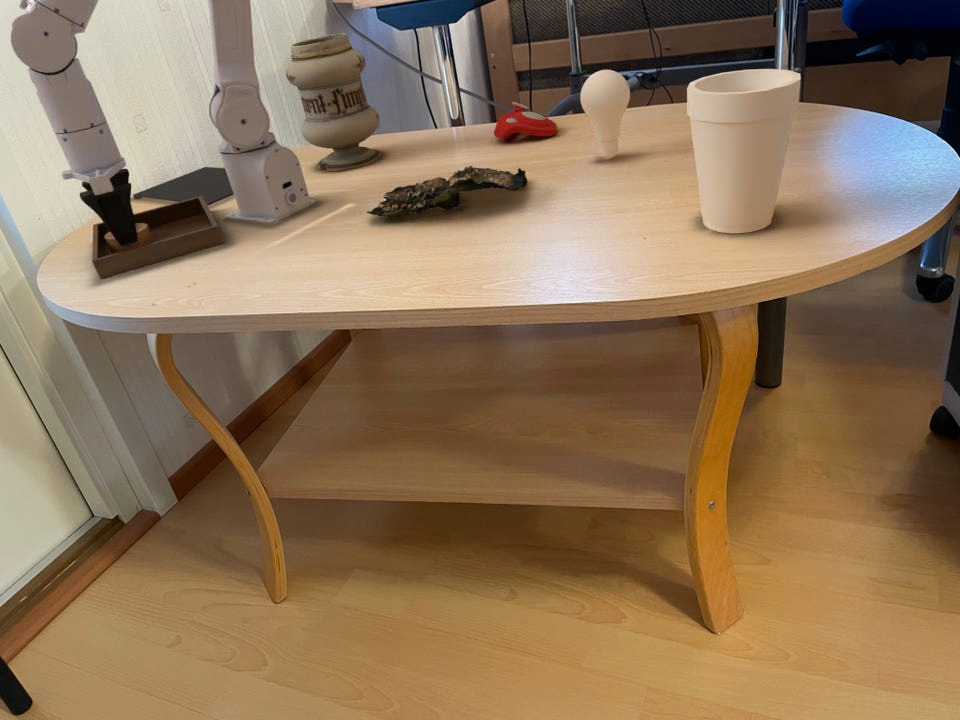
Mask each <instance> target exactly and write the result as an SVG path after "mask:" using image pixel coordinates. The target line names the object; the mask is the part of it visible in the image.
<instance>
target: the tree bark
mask: <svg viewBox="0 0 960 720" xmlns="http://www.w3.org/2000/svg"><path fill="white" fill-rule="evenodd" d="M528 183H529V182H528V178H527V175H526V170H523V169H522V168H520V167H519V168H518V169H517V172H516V173H515V174H514V173H512V172H511V171H508V170H505V171H504V170H498V169H493V168H489V167H487V168H484V167H476V166H474V167H473V165H469V166H465V167H464V168H463V170H459V169H457V171H455V172H453V174H452V175H451V176H450V177H448V179H446V178H445V177H440V176H439V177H435V178H432V179H428V180H427V179H426V180H424V181H422V182H416V183H415V184H410V185H409V184H408V185H405V186H398V187H395V188H394V189H393V190H391V191H387V192H386V193H385V194H384V196H383V199H385V200H383V201H381V202H379V204H378V205H377V206H376V207H374V208H372V210H370V211H369V210H368V211H366V214H369V215H372V216H377V217H382V218H389V219H391V218H392V219H393V218H399V217H403V216H410V215H411V214H412V213H413V214H422V211H425V212H426V211H429V210H435V209H437V208H438V209H441V210H444V211H452V210H453V209H456V208H459V206H460V205H461V202H460V199H461V194H460V193H463V192H475V191H479V190H485V189H486V190H487V189H499V190H505V191H513V192H515V191H518V190H520V188H521V187H522V188H524V187H525V188H526V186H527V185H528Z"/></svg>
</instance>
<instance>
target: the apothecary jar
mask: <svg viewBox="0 0 960 720" xmlns="http://www.w3.org/2000/svg"><path fill="white" fill-rule="evenodd" d="M290 52H291V55H290V58H291V60H290V61H289V63H288V64H287V65H286V69H285V76H286V79H287V81H288V82H289V83H290V85H292V86H295V87H296V88H297V90H298V93H299V97H300V100H301V104H302V106H303V112H304V116H305V119H304V120H303V122H302V124H301V134H302V137H303V139H305V141H306V142H308V143H309V144H310V145H312V146H314V147H318V148H321V149H322V148H323V149H331V150H332V151H333V152H331V153H329V154H327V155H326V156H325V157H323V158H322V159H320V160H319V162H318V163H317V165H318V166H317V167H318V169H319V170H326V171H327V172H340V171H347V170H352V169H357V168H361V167H364V166H367V165H369V164H371V163H374V162H375V161H377V160H378V159H379V158H380V156H381V153H380V152H379V150H377V149H374V148H369V146H368V147H367V146H360V143H363V142H364V141H366V140H367V139H369V138H370V137H371V136H372V135H373V134H374V133H375V132H376V130H377V128H378V127H379V125H380V115H379V113H378V112H377V110H376V109H375V108H374V107H373V106H371V105H369V103H368V100H367V97H366V93H365V90H364V86H363V82H362V77H361V74H362V73H363V71H364V70H365V68H366V59H365V56H364V55H363V54H362V53H361V52H360V51H359V50H357V49H356V48H354V47H353V46H352V44H351V42H350V39H349V37H348V34H346V33H334V34H329V35H323V36H317V37H313V38H308V39H305V40H301V41H298V42H295V43H292V44H291V45H290Z"/></svg>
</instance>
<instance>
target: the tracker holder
mask: <svg viewBox="0 0 960 720" xmlns="http://www.w3.org/2000/svg"><path fill="white" fill-rule="evenodd" d="M511 104H512V107H513V111H512V112H507V113H505V114H502V115H501V116H499V117H498V119H497V122H496V125H495V128H494V130H493V136H494V137H495V138H497V139H498V140H500V141H501V142H506V141H508V140H509V139H511V138H512V137H513V136H515V135H516V134H519V133H520V134H526V135H531V136H537V137H551V136H554V135H555V134H556V133H557V132H558V131H557V130H558V124H557V123H556V122H555V121H553V120H551V119H550V118H549V117H548V116H546V115H544V114H542V113H540V112H536V111H533V110H532V111H531V109H530V107H529V106H528V105H524V104H522V103H518V102H516V101H512V102H511Z"/></svg>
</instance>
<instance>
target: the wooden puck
mask: <svg viewBox="0 0 960 720" xmlns="http://www.w3.org/2000/svg"><path fill="white" fill-rule="evenodd" d="M135 226H136V231H137V236H138V241H137V242H133V243H129V244H126V245H122V246H121V245H120V244H119V243H118V242H117V241H116V239H115V238H114V236H113V235H112V234H111V232H108V233H107V234H106V235H105V240H106V242H107V244H108V246H109V248H110V251H111V252H112V253H119V252H122V251H126V250H130V249H133V248H137V247H140V246H144V245H147V244H150V243H152V242H153V237H152V235H151V232H150V230H149V228H148V225H147V224H145V223H135Z"/></svg>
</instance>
